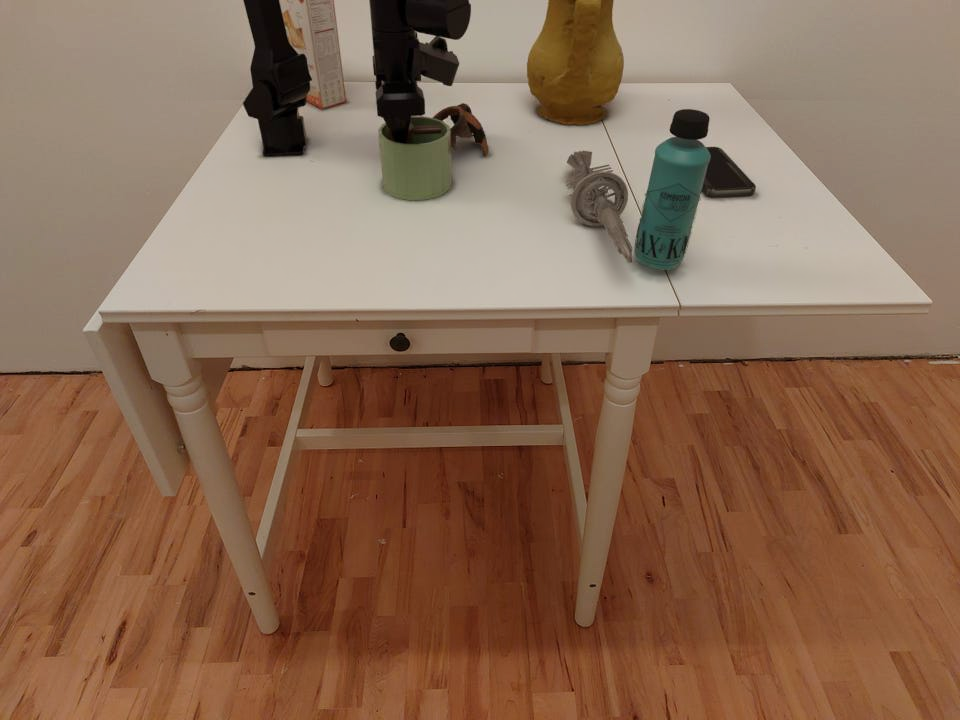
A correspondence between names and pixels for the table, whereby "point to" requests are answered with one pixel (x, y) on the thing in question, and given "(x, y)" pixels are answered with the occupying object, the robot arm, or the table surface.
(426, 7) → the robot arm
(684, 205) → the beverage bottle
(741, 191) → the phone
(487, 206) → the table surface
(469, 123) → the gnarled wooden root
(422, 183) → the green round container
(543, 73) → the pitcher
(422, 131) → the scoop
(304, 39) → the cracker box
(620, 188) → the spaceship
